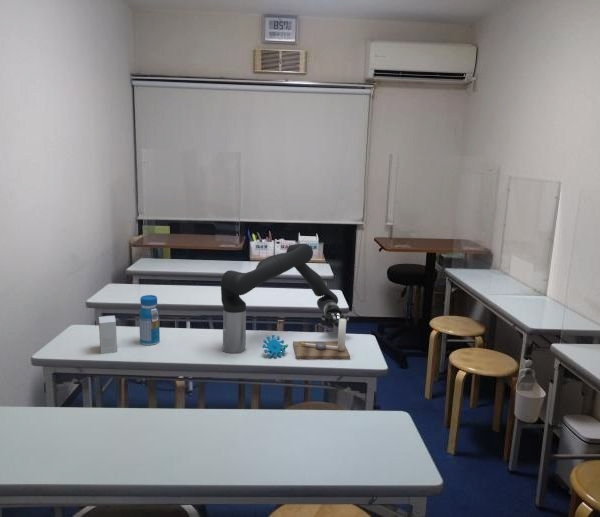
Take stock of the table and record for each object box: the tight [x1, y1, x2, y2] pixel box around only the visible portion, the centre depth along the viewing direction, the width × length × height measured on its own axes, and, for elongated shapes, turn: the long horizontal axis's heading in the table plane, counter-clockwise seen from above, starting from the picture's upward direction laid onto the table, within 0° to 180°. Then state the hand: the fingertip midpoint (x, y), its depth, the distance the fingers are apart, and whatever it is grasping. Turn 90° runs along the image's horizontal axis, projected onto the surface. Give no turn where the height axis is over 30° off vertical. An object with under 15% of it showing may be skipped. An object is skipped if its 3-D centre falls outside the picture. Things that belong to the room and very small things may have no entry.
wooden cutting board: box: [292, 340, 351, 361], centre depth 214 cm, size 22×16×2 cm
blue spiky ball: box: [261, 334, 289, 359], centre depth 210 cm, size 11×6×10 cm
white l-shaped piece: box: [301, 319, 347, 351], centre depth 212 cm, size 18×4×13 cm, turn 79°
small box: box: [98, 315, 118, 354], centre depth 207 cm, size 8×6×13 cm
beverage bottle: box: [138, 294, 161, 346], centre depth 215 cm, size 8×8×20 cm
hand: (338, 324), depth 220 cm, fingers closed
